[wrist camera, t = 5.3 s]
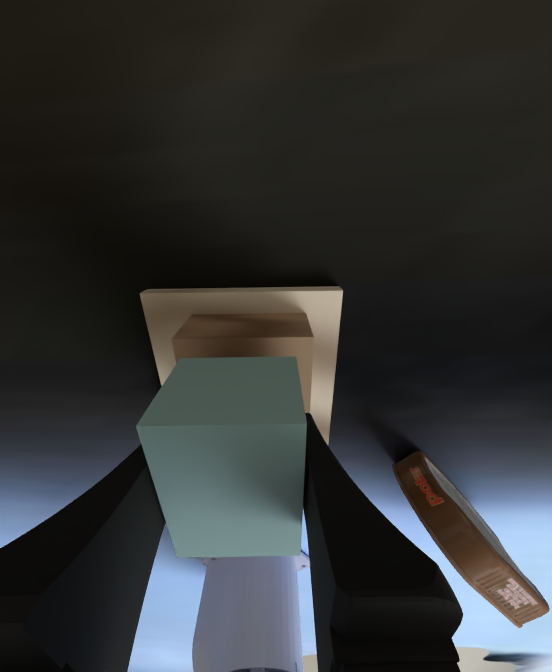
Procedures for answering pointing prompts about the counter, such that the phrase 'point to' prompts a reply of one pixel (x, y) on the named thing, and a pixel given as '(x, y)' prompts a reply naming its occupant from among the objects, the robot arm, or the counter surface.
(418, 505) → the tin
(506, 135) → the counter surface
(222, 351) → the walnut block
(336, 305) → the birch board
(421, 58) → the counter surface
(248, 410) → the teal brick
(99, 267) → the counter surface
